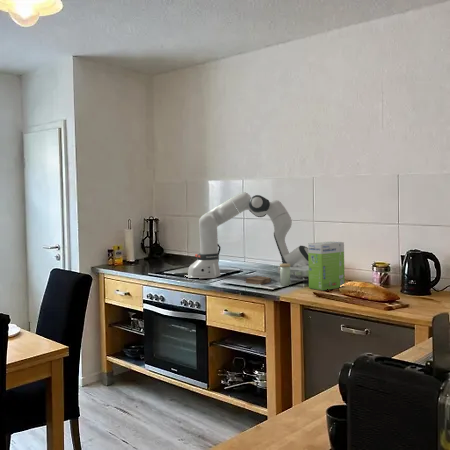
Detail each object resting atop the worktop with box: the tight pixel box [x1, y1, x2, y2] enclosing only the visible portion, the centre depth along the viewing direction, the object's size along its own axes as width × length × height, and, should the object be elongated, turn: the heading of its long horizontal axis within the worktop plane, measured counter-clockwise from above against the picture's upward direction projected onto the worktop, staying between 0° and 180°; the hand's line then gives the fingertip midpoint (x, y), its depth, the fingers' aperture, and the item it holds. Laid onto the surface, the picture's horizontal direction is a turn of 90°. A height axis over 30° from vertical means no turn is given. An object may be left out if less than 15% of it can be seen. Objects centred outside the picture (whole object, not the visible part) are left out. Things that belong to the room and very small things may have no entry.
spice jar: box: [279, 262, 291, 287], centre depth 283 cm, size 6×6×12 cm
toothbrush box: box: [307, 241, 346, 291], centre depth 273 cm, size 18×10×24 cm, turn 126°
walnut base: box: [245, 275, 272, 285], centre depth 294 cm, size 10×10×2 cm
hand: (287, 273), depth 285 cm, fingers open, 8 cm apart
